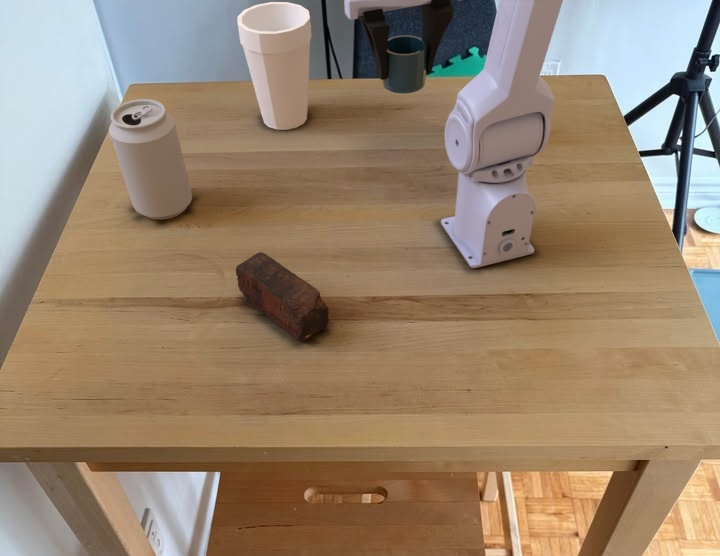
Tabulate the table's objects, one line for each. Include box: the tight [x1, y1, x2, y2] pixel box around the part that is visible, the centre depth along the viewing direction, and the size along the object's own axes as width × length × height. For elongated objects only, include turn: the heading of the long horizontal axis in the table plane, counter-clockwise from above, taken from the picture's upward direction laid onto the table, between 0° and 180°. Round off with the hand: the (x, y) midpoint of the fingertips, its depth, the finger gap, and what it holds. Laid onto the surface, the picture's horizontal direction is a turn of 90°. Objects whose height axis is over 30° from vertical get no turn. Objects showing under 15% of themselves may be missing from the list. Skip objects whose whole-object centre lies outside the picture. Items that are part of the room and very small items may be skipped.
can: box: [108, 98, 193, 220], centre depth 85 cm, size 8×8×12 cm
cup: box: [382, 34, 427, 94], centre depth 89 cm, size 5×6×4 cm
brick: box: [235, 251, 330, 342], centre depth 76 cm, size 11×4×5 cm, turn 44°
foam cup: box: [236, 1, 313, 131], centre depth 96 cm, size 10×9×13 cm
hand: (404, 71), depth 89 cm, fingers closed on cup, 5 cm apart
